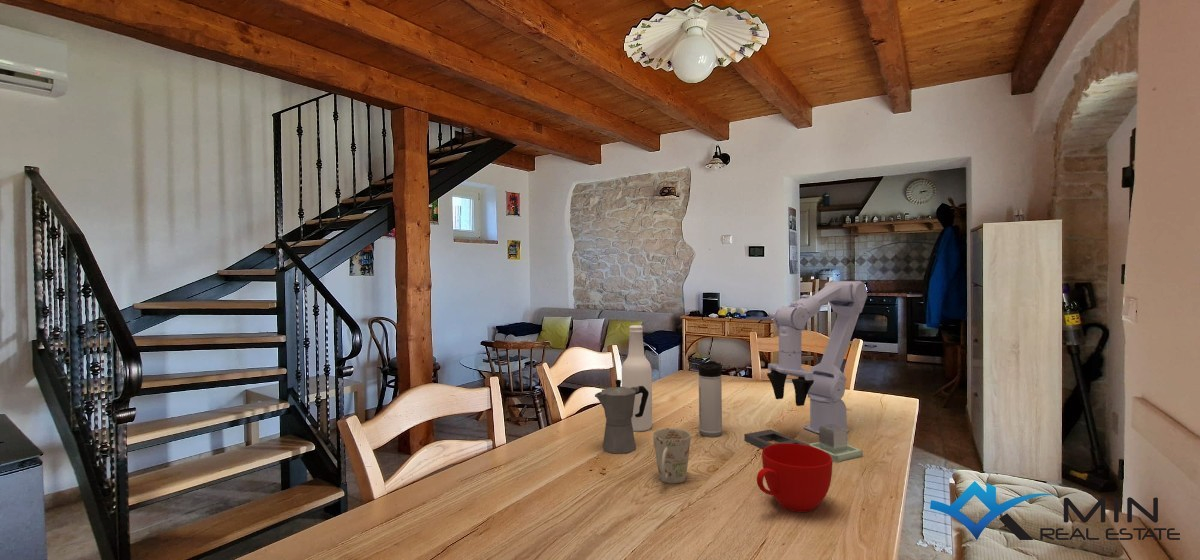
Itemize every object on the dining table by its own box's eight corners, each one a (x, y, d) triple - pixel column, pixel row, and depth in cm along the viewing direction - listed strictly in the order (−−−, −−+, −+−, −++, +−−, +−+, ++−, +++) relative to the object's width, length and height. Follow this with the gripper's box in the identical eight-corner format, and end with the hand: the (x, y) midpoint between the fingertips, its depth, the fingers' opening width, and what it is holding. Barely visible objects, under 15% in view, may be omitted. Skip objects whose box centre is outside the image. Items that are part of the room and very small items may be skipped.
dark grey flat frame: (744, 440, 138) (744, 434, 138) (770, 435, 142) (770, 429, 142) (800, 467, 120) (800, 459, 120) (828, 460, 124) (828, 453, 124)
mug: (693, 473, 118) (693, 429, 118) (684, 496, 106) (683, 448, 106) (658, 468, 120) (657, 426, 120) (645, 491, 109) (644, 444, 108)
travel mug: (724, 431, 147) (723, 361, 146) (719, 438, 141) (718, 365, 140) (702, 428, 149) (701, 360, 149) (696, 435, 143) (696, 364, 143)
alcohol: (616, 428, 151) (614, 326, 150) (634, 421, 158) (632, 323, 157) (640, 434, 145) (639, 328, 144) (658, 426, 152) (656, 325, 151)
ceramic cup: (734, 504, 102) (733, 454, 102) (792, 485, 111) (792, 439, 110) (786, 533, 91) (786, 477, 91) (847, 509, 99) (847, 458, 99)
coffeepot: (603, 458, 128) (602, 386, 127) (589, 446, 137) (588, 378, 136) (657, 448, 134) (656, 379, 133) (640, 437, 143) (639, 373, 142)
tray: (832, 444, 134) (832, 439, 134) (862, 456, 126) (862, 450, 126) (806, 450, 131) (806, 444, 131) (835, 462, 123) (835, 456, 122)
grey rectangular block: (832, 447, 131) (832, 423, 131) (847, 453, 127) (847, 429, 127) (819, 450, 129) (819, 426, 129) (833, 455, 125) (833, 431, 125)
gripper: (759, 348, 143) (759, 397, 143) (798, 356, 129) (798, 410, 130) (779, 347, 146) (779, 394, 146) (819, 354, 132) (819, 407, 132)
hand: (789, 402), depth 138 cm, fingers open, 7 cm apart
